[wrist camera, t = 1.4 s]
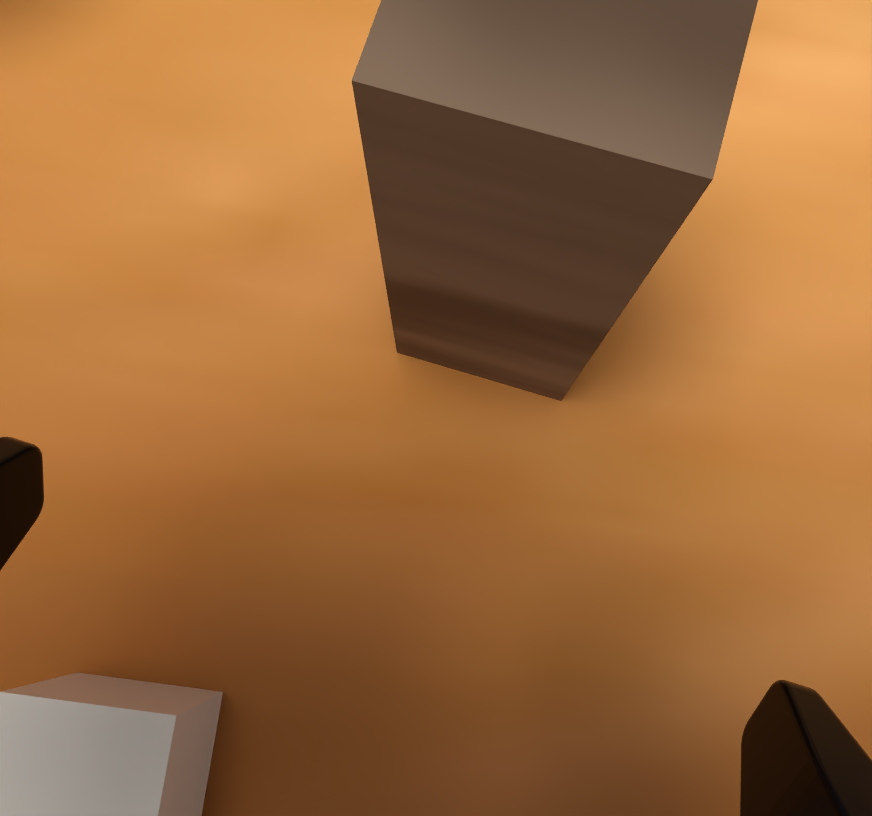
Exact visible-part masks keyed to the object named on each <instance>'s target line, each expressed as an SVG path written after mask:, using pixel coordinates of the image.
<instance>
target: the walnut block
mask: <svg viewBox="0 0 872 816" xmlns="http://www.w3.org/2000/svg"><path fill="white" fill-rule="evenodd" d="M757 2H758V0H381V3H380V6H379V8H378V11H377V14H376V16H375V19H374V22H373V24H372V27H371V30H370V33H369V35H368V38H367V41H366V43H365V46H364V49H363V52H362V54H361V57H360V60H359V62H358V65H357V68H356V70H355V73H354V76H353V79H352V85H353V91H354V97H355V103H356V109H357V115H358V121H359V127H360V133H361V139H362V145H363V151H364V157H365V163H366V169H367V175H368V181H369V187H370V193H371V199H372V205H373V211H374V217H375V223H376V229H377V235H378V241H379V247H380V253H381V259H382V265H383V271H384V277H385V283H386V289H387V295H388V301H389V307H390V313H391V319H392V325H393V331H394V337H395V343H396V349H397V352H398V353H401V354H404V355H408V356H411V357H415V358H418V359H421V360H425V361H428V362H432V363H435V364H438V365H442V366H445V367H449V368H452V369H455V370H459V371H462V372H465V373H469V374H472V375H476V376H479V377H482V378H486V379H489V380H493V381H496V382H499V383H503V384H506V385H509V386H513V387H516V388H520V389H523V390H526V391H530V392H533V393H537V394H540V395H543V396H547V397H550V398H553V399H557V400H560V401H561V400H562V399H563V397H564V396H565V394H566V393H567V391H568V390H569V388H570V387H571V386H572V384H573V383H574V381H575V380H576V378H577V377H578V375H579V374H580V372H581V371H582V369H583V368H584V367H585V365H586V364H587V362H588V361H589V359H590V358H591V356H592V355H593V353H594V352H595V350H596V349H597V348H598V346H599V345H600V343H601V342H602V340H603V339H604V337H605V336H606V334H607V333H608V331H609V330H610V329H611V327H612V326H613V324H614V323H615V321H616V320H617V318H618V317H619V315H620V314H621V312H622V311H623V310H624V308H625V307H626V305H627V304H628V302H629V301H630V299H631V298H632V296H633V295H634V293H635V292H636V291H637V289H638V288H639V286H640V285H641V283H642V282H643V280H644V279H645V277H646V276H647V274H648V273H649V272H650V270H651V269H652V267H653V266H654V264H655V263H656V261H657V260H658V258H659V257H660V255H661V254H662V253H663V251H664V250H665V248H666V247H667V245H668V244H669V242H670V241H671V239H672V238H673V236H674V235H675V234H676V232H677V231H678V229H679V228H680V226H681V225H682V223H683V222H684V220H685V219H686V217H687V216H688V215H689V213H690V212H691V210H692V209H693V207H694V206H695V204H696V203H697V201H698V200H699V199H700V197H701V196H702V194H703V193H704V191H705V190H706V188H707V187H708V185H709V184H710V182H711V181H712V180H713V176H714V172H715V168H716V164H717V160H718V156H719V152H720V148H721V144H722V140H723V136H724V132H725V128H726V124H727V120H728V116H729V113H730V109H731V105H732V101H733V97H734V93H735V89H736V85H737V81H738V77H739V73H740V69H741V65H742V61H743V57H744V53H745V49H746V45H747V41H748V37H749V33H750V29H751V26H752V22H753V18H754V14H755V10H756V6H757Z"/></svg>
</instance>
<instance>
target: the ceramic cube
mask: <svg viewBox="0 0 872 816" xmlns="http://www.w3.org/2000/svg"><path fill="white" fill-rule="evenodd" d="M222 695H223V692H221V691H213V690H206V689H198V688H190V687H183V686H175V685H168V684H160V683H153V682H145V681H138V680H130V679H123V678H115V677H108V676H100V675H92V674H85V673H73V674H69V675H65V676H61V677H57V678H53V679H49V680H45V681H41V682H37V683H33V684H29V685H25V686H21V687H17V688H13V689H9V690H5V691H1V692H0V816H202V810H203V804H204V799H205V793H206V787H207V781H208V776H209V770H210V764H211V758H212V752H213V747H214V741H215V735H216V729H217V724H218V718H219V712H220V706H221V701H222Z"/></svg>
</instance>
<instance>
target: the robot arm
mask: <svg viewBox="0 0 872 816" xmlns="http://www.w3.org/2000/svg"><path fill="white" fill-rule="evenodd" d="M43 502H44V488H43V461H42V453H41V451H40V449H39V448H38V447H37V446H35V445H34V444H31V443H27V442H24V441H21V440H18V439H15V438H11V437H1V438H0V570H1V569H2V567H3V566H4V565H5V563H6V562H7V560H8V559H9V558H10V556H11V555H12V553H13V552H14V551H15V549H16V548H17V546H18V545H19V544H20V542H21V541H22V539H23V538H24V537H25V535H26V534H27V532H28V531H29V530H30V528H31V527H32V525H33V524H34V523H35V521H36V520H37V518H38V516H39V514H40V512H41V509H42V507H43ZM740 816H872V760H871V759H870V757H869V756H868V755H867V754H866V752H865V751H864V750H863V749H862V747H861V746H860V745H859V744H858V742H857V741H856V740H855V739H854V737H853V736H852V735H851V734H850V732H849V731H848V730H847V729H846V727H845V726H844V725H843V723H842V722H841V721H840V720H839V718H838V717H837V716H836V715H835V713H834V712H833V711H832V710H831V708H830V707H829V706H828V705H827V703H826V702H825V701H824V700H823V698H822V697H821V696H820V695H819V694H818V693H817V692H816V691H815V690H813V689H811V688H808V687H805V686H802V685H799V684H795V683H792V682H789V681H786V680H778V681H776V682H775V683H773V684H772V686H771V687H770V688H769V690H768V691H767V693H766V694H765V696H764V697H763V699H762V701H761V702H760V704H759V705H758V707H757V708H756V710H755V711H754V713H753V714H752V716H751V717H750V719H749V721H748V722H747V724H746V726H745V729H744V732H743V736H742V743H741V800H740Z"/></svg>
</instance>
